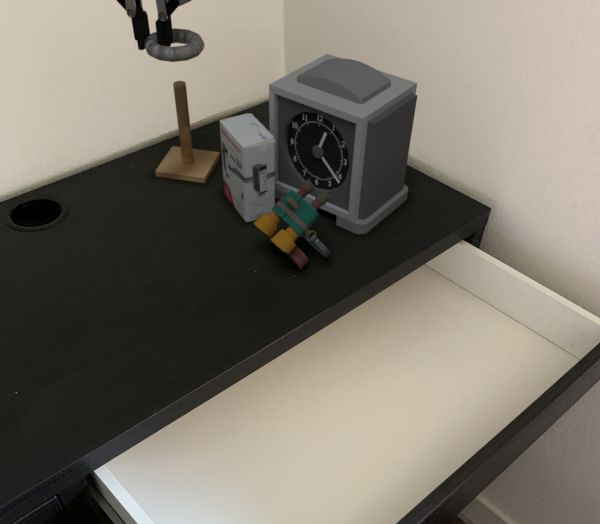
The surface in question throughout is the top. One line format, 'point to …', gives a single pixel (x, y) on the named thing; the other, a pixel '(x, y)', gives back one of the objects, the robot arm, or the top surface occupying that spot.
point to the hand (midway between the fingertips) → (155, 46)
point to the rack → (186, 148)
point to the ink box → (248, 165)
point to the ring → (178, 52)
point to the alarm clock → (343, 137)
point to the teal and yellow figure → (294, 223)
